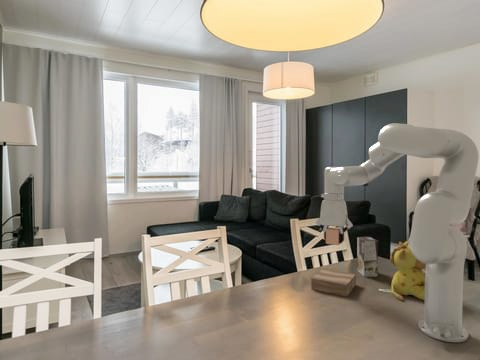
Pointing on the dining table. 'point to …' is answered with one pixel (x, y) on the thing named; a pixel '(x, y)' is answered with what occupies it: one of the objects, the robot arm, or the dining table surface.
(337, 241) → the terracotta block
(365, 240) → the coffee box
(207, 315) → the dining table surface
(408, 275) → the giraffe plush
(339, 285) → the walnut base
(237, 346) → the dining table surface
